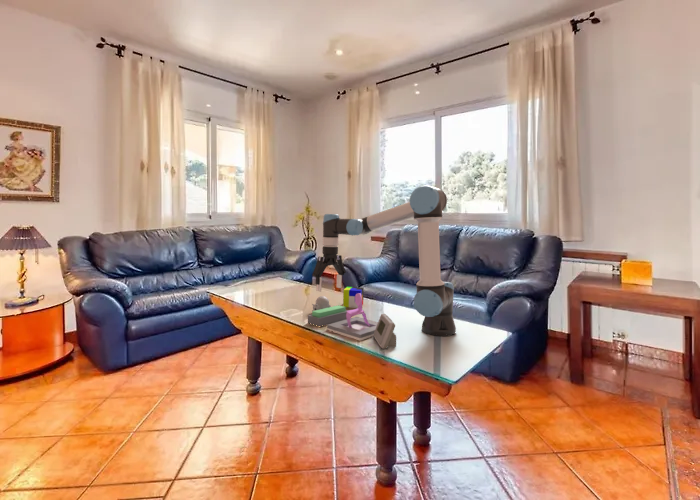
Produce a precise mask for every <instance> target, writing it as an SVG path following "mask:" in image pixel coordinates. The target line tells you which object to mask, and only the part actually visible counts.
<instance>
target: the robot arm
mask: <svg viewBox="0 0 700 500" xmlns="http://www.w3.org/2000/svg"><path fill="white" fill-rule="evenodd" d="M447 204H448V197H447V195H446V192H445V191H444V190H442V189H441V188H438V187H435V186H433V185H430V184H428V185H420V186H418V187H416V188H415V189H414V190H413V191H412V192H411V195H410V197H409V201H408V202H405V203H402V204H400V205H397V206H394V207H392V208H387V209H386V210H382V211H379V212H376V213H374V214H371V215H368V216H364V217H362V218H340V215H339V214H338V213H326V214H324V215H323V222H322V255H323V256H317V261H316V264H315V267H314V269H313V271H312V277H314V278H315V284H316V289H315V290H316V292H322V282H323V281H322V280H323V279H322V277H321V276H322V275H323V274H324V272H325V271H326V269H327V267H328V266H329V267H330V266H333V267H334V269H335V271H336V272H337V274H336V288H338V289H342V285H343V283H342V282H343V276H344V275H345V274H346V272H347V271H346V268H345V265H344V262H343V259H342V258H343V257H342V255H340V254H339V247H338V246H339V235H346V236H347V235H348V236H359V235H367V234H369V233H371V232H374V231H376V230H379V229H382V228H386V227H389V226H393V225H396V224H398V223H401V222H405V221H407V220H411V219H413V220H414V221H415V222H416V223H417V240H418V264H419V265H418V266H419V268H418V270H419V280H418V281H417V283H415V285H416V294H415V295H414V297H413V306H414V309H415V310H416V311H417V313H418V314H419V315H421V316H423V317H424V318H423V320H422V324H421V331H422V332H423V333H425V334H427V335H431V336H436V337H437V336H439V337H449V336H448V335H450V336H453V335H452V334H454V333H455V332H456V331H457V330H456V329H457V328H456V324H455V320H454V317H453V316H454V315H453V312H454V311H453V309H454V294H455V293H454V292H455V289H454V283H452V282H450V281H443V280H442V279H441V275H442V274H441V253H440V252H441V251H440V227H439V225H440V221H441V220H442V219H443V211H444V210H445V209H446V207H447ZM455 334H456V333H455ZM455 334H454V335H455Z"/></svg>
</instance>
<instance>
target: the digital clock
mask: <svg viewBox="0 0 700 500" xmlns="http://www.w3.org/2000/svg"><path fill="white" fill-rule="evenodd" d="M395 328H396V324H395V323H394V322H393V320H392V319H391V318H390V317H389V316H388V315H387V314H386V313H381V315H380V316H379V319H378V324H377V326H376V329H375V331H374V334H373V336H372V337H373V338H374V339H375V341H376V342H377V344H378V345H379V346H380V347H381V349H383V350H385V349H387V348H388V347H389V348H390V347H393V348H394V347H396V346H397V335H396V334H395V332H394V330H395Z"/></svg>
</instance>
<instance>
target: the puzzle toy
mask: <svg viewBox="0 0 700 500" xmlns="http://www.w3.org/2000/svg"><path fill="white" fill-rule="evenodd" d="M364 289H365V288H364V287H358V286H357V287H354V286H346V287H345V288H344V289H343V294H342V296H343V297H342V299H343V300H342V306H344V307H346V308H353V309H357V308H358V305H357V304H356V303H355V295H356V294H357V293H361V296H362V306H363V305H364V291H365V290H364Z"/></svg>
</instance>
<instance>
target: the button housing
mask: <svg viewBox="0 0 700 500" xmlns="http://www.w3.org/2000/svg"><path fill="white" fill-rule="evenodd" d="M347 311H349V310H347V309H346V311H344V312H340V313H336V314H332V315H328V316H324V317H320V318H318V317H315V316H312V313H311V314H307V324H308V323H311V324H314V325H317V326H321V327H323V326H322V325H325V326H327V325H328V324H332V323H335V322H339V321H343V320H346V319H347V318H346V313H347ZM311 324H310V325H311ZM314 325H313V326H314ZM317 326H316V327H317Z"/></svg>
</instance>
